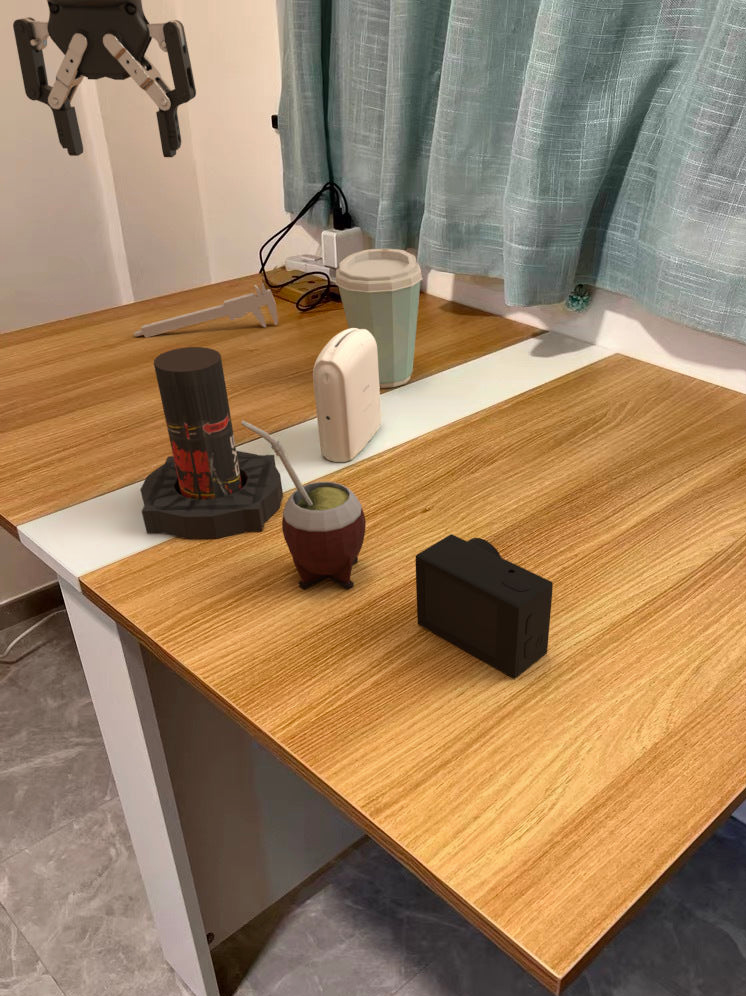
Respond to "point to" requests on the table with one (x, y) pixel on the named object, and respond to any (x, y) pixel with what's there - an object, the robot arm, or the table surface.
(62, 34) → the robot arm
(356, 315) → the disposable coffee cup
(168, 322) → the caliper
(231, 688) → the table surface
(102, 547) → the table surface
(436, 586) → the digital camera
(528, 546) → the table surface
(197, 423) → the deodorant
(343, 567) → the mate gourd
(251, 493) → the dock pad
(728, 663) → the table surface
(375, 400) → the photo printer
